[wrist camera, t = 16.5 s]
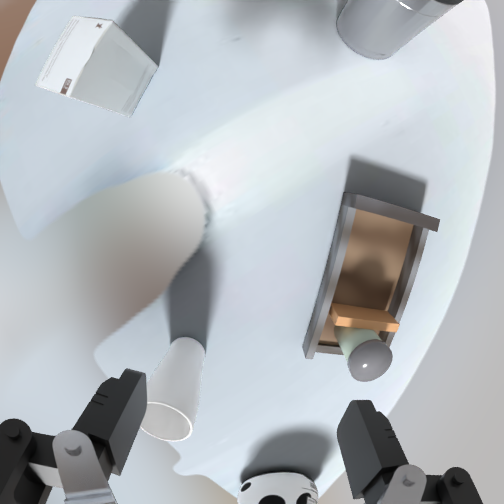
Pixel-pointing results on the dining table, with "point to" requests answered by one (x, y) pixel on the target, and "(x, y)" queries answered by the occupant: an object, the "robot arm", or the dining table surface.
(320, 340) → the grey wooden tray
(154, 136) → the dining table surface
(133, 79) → the skincare box
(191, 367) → the drinking glass
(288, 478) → the milk container
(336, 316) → the plate
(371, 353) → the jar
